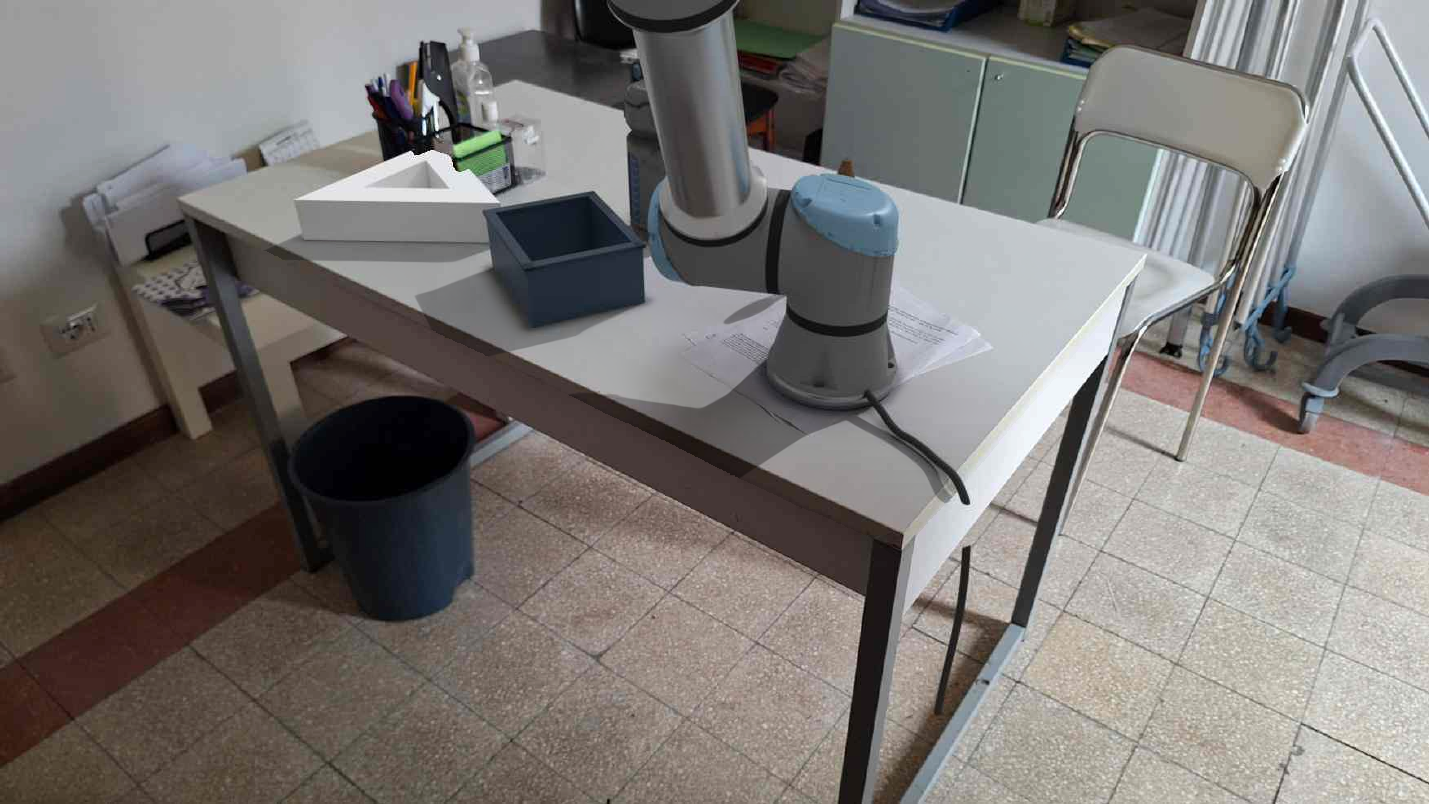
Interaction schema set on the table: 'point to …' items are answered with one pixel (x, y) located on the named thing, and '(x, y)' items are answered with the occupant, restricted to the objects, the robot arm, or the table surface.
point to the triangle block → (400, 203)
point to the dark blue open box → (566, 257)
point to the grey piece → (641, 151)
